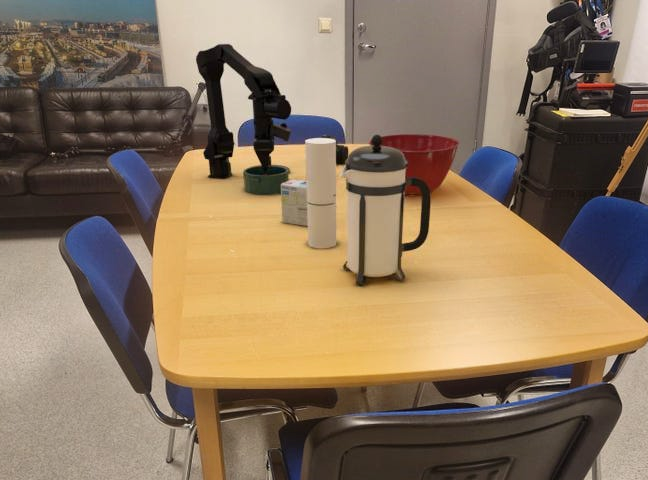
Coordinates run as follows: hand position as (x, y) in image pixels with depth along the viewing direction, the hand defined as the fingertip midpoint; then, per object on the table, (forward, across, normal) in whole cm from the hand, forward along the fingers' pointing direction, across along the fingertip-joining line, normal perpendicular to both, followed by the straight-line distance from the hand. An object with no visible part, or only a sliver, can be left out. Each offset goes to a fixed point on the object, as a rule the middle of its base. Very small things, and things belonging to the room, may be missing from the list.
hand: (265, 167), depth 202 cm
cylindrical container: (+7, -55, -15) cm, 58 cm away
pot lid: (+6, +24, 0) cm, 24 cm away
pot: (+7, 0, 0) cm, 7 cm away
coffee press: (+7, -77, -26) cm, 81 cm away
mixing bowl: (+7, -5, -47) cm, 48 cm away
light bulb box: (+7, -37, -11) cm, 39 cm away
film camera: (+7, +37, -24) cm, 45 cm away
